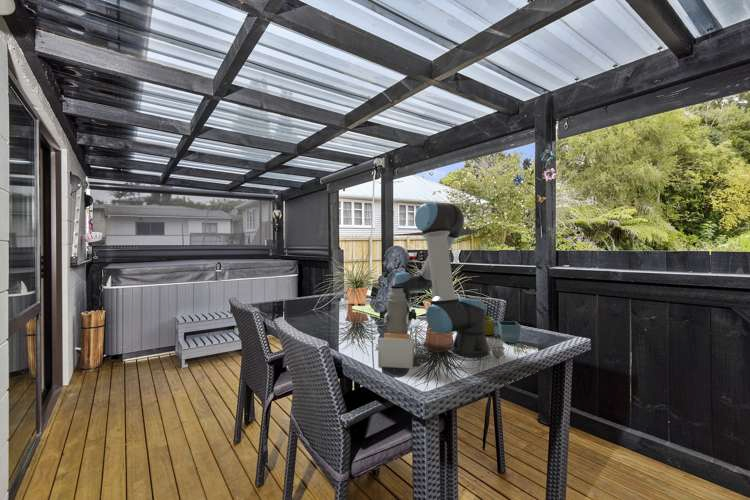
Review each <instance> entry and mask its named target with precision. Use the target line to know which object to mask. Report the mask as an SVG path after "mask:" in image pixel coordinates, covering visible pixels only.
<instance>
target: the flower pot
mask: <svg viewBox="0 0 750 500" xmlns="http://www.w3.org/2000/svg"><path fill="white" fill-rule="evenodd" d="M497 329H498V334H499V336H500V337H499V338H500V339H501V341H502V342H503V341H504V342H505V343H504V344H516V343H517V342H518V341H519V338H520V333H521V324H520V323H518V322H517V321H511V320H510V321H509V320H504V321H503V320H498V321H497ZM506 342H507V343H506ZM508 342H509V343H508Z"/></svg>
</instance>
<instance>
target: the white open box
mask: <svg viewBox="0 0 750 500" xmlns="http://www.w3.org/2000/svg"><path fill="white" fill-rule="evenodd" d="M377 350H378V352H377V355H378V356H377V359H378V360H377V362H378V363H377V365H378V366H379V368H380V367H381V368H393V369H394V368H397V369H413V367H414V361H415V359H414V358H415V339H413V338H409V339H398V338H384V337H378V338H377ZM378 366H377V367H378Z"/></svg>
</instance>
